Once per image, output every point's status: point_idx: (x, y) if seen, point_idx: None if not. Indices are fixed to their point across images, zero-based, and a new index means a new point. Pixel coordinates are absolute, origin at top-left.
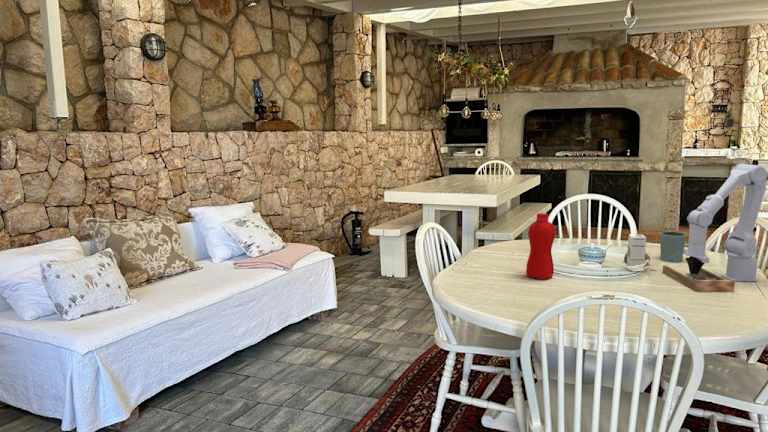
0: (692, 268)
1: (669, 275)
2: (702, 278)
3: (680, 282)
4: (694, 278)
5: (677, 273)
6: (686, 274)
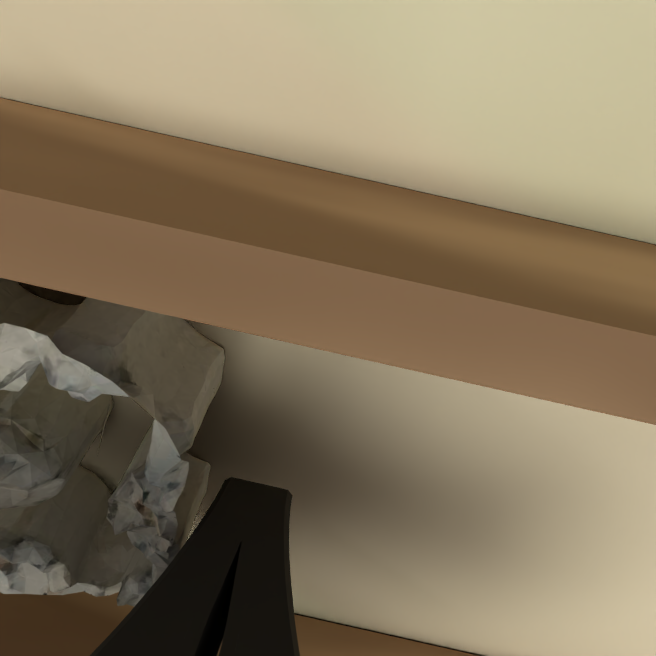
0: (103, 641)
1: (652, 256)
2: (137, 552)
3: (100, 123)
4: (136, 455)
5: (232, 238)
6: (94, 379)
